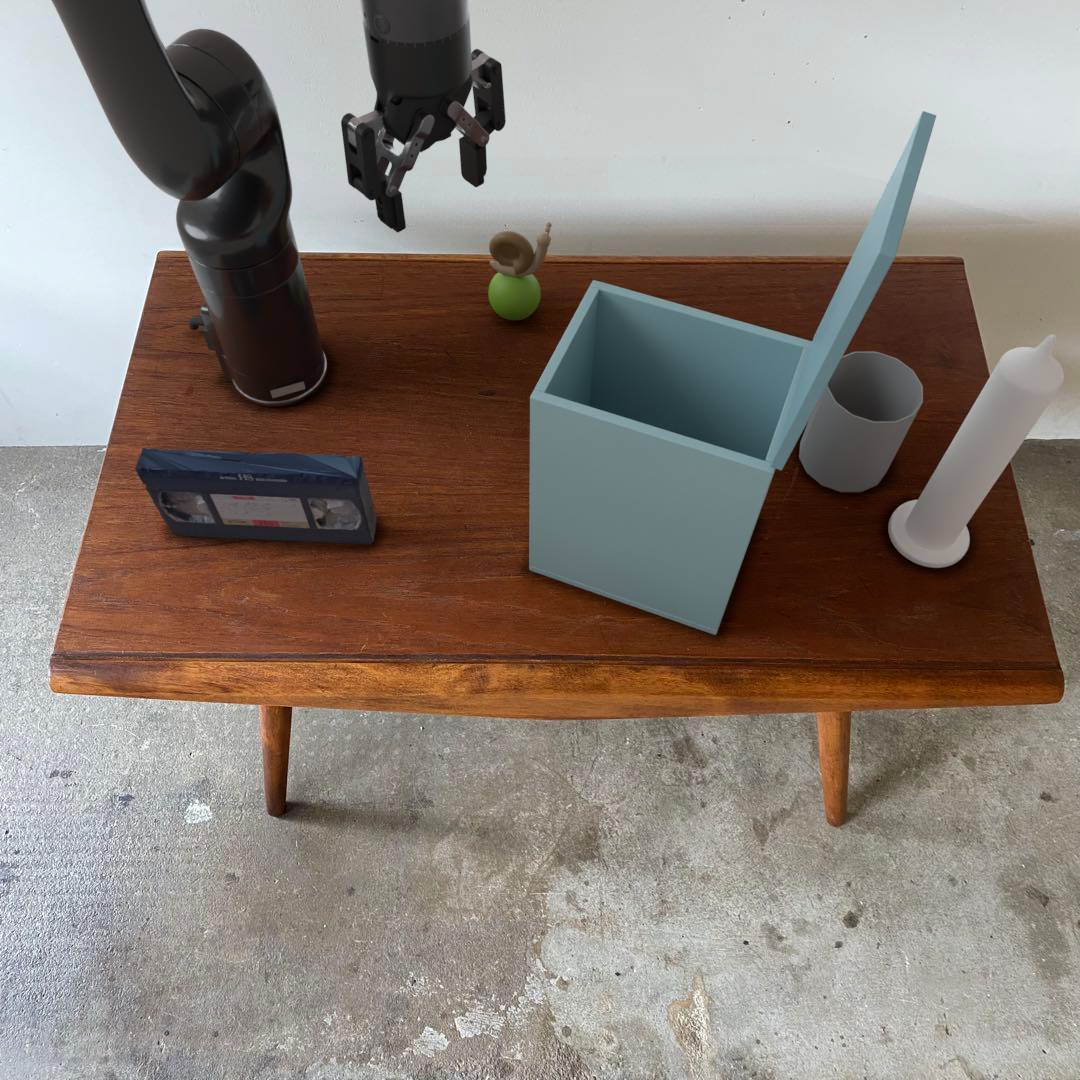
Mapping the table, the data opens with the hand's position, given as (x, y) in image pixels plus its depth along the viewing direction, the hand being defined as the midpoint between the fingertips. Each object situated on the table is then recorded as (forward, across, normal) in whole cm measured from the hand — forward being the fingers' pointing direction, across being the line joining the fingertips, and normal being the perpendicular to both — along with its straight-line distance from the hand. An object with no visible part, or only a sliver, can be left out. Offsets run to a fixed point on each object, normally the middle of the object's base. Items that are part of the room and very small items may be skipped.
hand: (434, 203), depth 81 cm
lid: (-12, -3, +36) cm, 38 cm away
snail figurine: (+20, -10, -1) cm, 23 cm away
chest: (+20, +1, +28) cm, 34 cm away
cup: (+20, -20, +34) cm, 45 cm away
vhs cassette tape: (+20, +24, +4) cm, 32 cm away
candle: (+20, -19, +45) cm, 53 cm away
